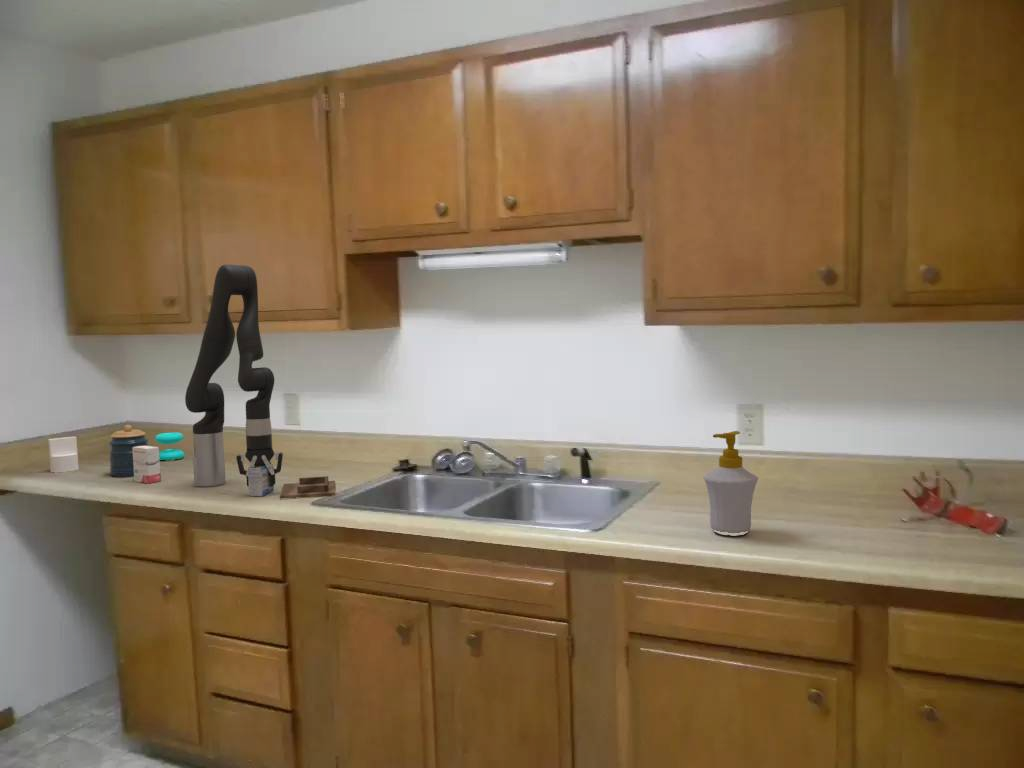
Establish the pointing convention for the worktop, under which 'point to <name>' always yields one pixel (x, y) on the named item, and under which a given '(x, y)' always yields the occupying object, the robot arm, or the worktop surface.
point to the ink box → (146, 464)
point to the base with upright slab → (63, 454)
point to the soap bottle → (730, 490)
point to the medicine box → (259, 481)
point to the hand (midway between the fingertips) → (261, 486)
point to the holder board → (309, 488)
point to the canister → (125, 450)
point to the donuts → (170, 439)
